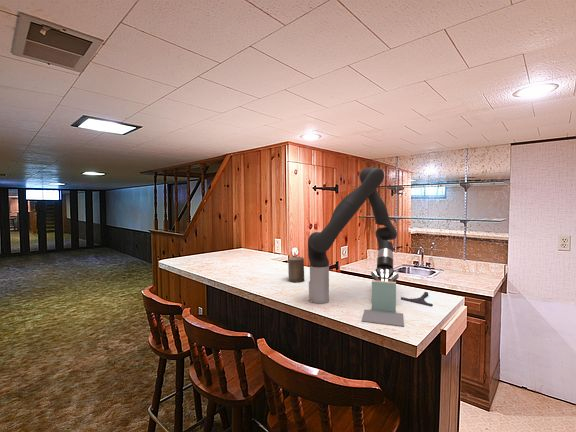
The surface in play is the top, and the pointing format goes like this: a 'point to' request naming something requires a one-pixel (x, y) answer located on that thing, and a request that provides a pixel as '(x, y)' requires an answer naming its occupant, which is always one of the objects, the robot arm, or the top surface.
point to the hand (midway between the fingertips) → (384, 291)
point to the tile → (384, 296)
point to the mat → (383, 318)
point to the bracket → (419, 300)
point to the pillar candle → (296, 269)
